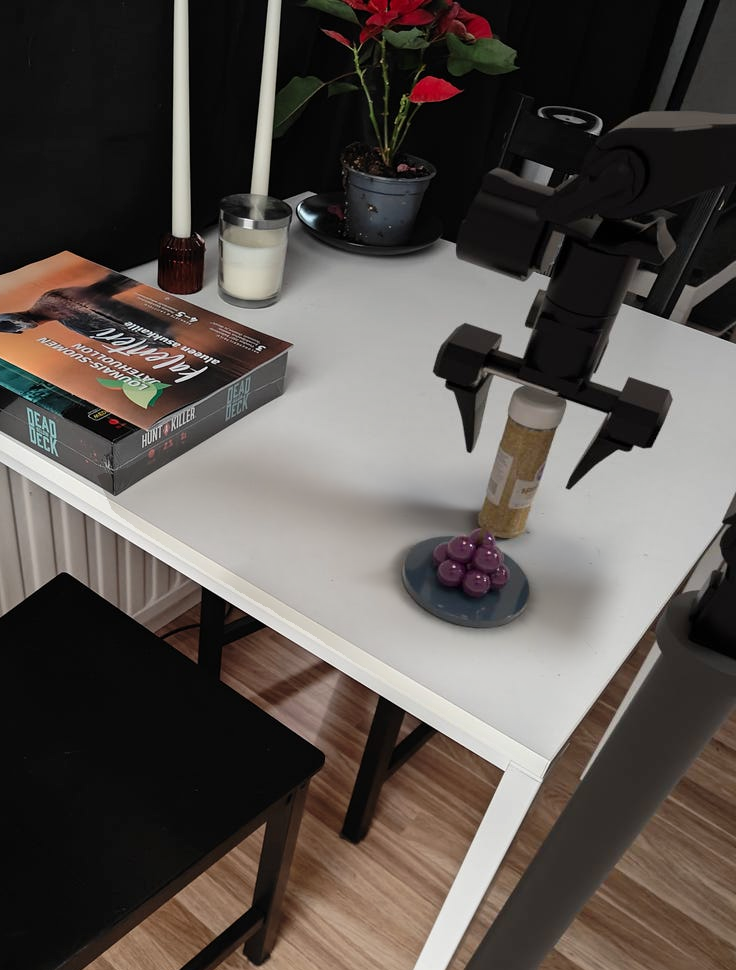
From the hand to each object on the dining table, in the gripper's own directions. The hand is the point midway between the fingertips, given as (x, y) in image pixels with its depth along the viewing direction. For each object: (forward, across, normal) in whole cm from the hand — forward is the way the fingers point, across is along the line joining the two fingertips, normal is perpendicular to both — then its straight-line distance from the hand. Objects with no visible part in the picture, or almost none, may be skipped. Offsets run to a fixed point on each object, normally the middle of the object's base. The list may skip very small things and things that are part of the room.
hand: (518, 468), depth 80 cm
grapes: (+6, 0, +10) cm, 12 cm away
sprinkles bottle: (+6, 0, 0) cm, 6 cm away
